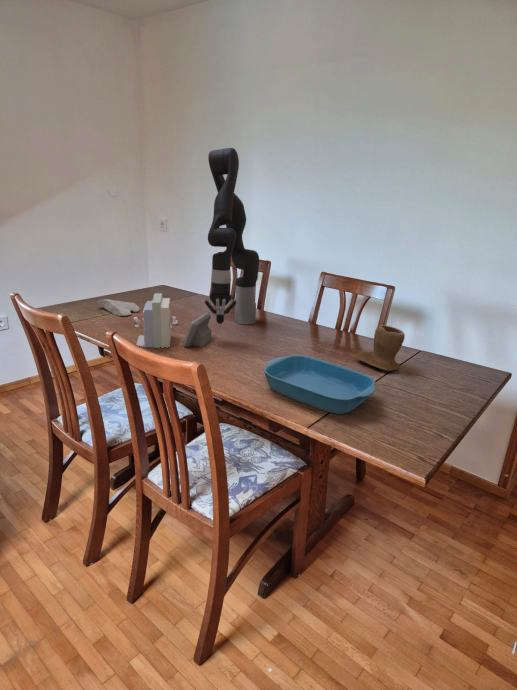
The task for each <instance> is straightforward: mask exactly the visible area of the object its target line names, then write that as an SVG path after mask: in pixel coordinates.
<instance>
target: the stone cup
mask: <svg viewBox="0 0 517 690" xmlns="http://www.w3.org/2000/svg"><path fill="white" fill-rule="evenodd" d="M405 337H406V336H405V332H403V330H401V329H399V328H396V327H394V326H390V325H385V324H380V325H379V326H377V328H376V329H375V332H374V336H373V351H363V350H362V351H360V352H358V353H356V354H355V355H354V358H355V360H358V361H360V362H362V363H364V364H366V365H369V366H371V367H374V368H377V369H379V370H383V371H385V372H393V371H396V370H398V369H399V368H400V364H399V363H398V362H396V357H397V355H398V352H399V351H400V349H401V347H402V346H403V343H404V341H405Z"/></svg>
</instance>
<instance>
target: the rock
mask: <svg viewBox="0 0 517 690" xmlns="http://www.w3.org/2000/svg"><path fill="white" fill-rule="evenodd" d="M96 302H97V304H98V305H99V306H101V307H103V308H104V309H105V310H106V311H108V312H109V313H111V314H113V315H114V316H117V317H118V316H119V317H120V316H121V317H126V316H131V315H132V313H133V312H134V313H137V312H139V311H140V306H138V305H137V304H136V303H135V302H128V301H122V300H113V299H110V298H109V299H108V298H105V299H100V300H97V301H96Z"/></svg>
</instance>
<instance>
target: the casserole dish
mask: <svg viewBox="0 0 517 690" xmlns="http://www.w3.org/2000/svg"><path fill="white" fill-rule="evenodd" d="M263 373H264V376H265V378H266V382H267V384H268V385H269V387H270V388H271V389H272V390H273V391H275V392H276V393H278V394H281V395H283V396H285V397H287V398H290V399H293V400H295V401H297V402H300V403H302V404H306V405H308V406H311V407H314V408H316V409H319V410H322V411H325V412H327V413H330V414H331V413H332V414H335V415H343V414H344V415H345V414H347V413H350V412H351V411H353V410H354V409H357V408H358V407H359V406H360V405H362V404H363V403H364V402H365V401H366V400H367V399H368V398H369V397H371V396H372V395H373V394H374V393H375V392H376V390H377V389H376V385H375V384H376V380H375V378H374V377H372V376H370V375H368V374H366V373H363V372H360V371H358V370H354V369H351V368H349V367H345V366H342V365H338V364H336V363H332V362H329V361H326V360H323V359H319V358H316V357H313V356H309V355H303V354H291V355H288V356H280V357H279V356H277V357H275V358H273V359H270V360H269V361H267V362H266V366H265V367H264V368H263Z"/></svg>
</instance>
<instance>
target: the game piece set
mask: <svg viewBox="0 0 517 690" xmlns="http://www.w3.org/2000/svg"><path fill="white" fill-rule="evenodd" d="M141 320H142V321H143V317H142V319H141ZM141 320H140V319H139V318H138V317H137V316H134V317H133V321H135V325H134V327H135V328H140V325H139V324H140V323H141ZM177 324H179V320H178V319H177V317H176V316H172V324H171V330H172V329H173V326H172V325H174V326H177ZM142 329H143V331H144V328H142Z"/></svg>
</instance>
